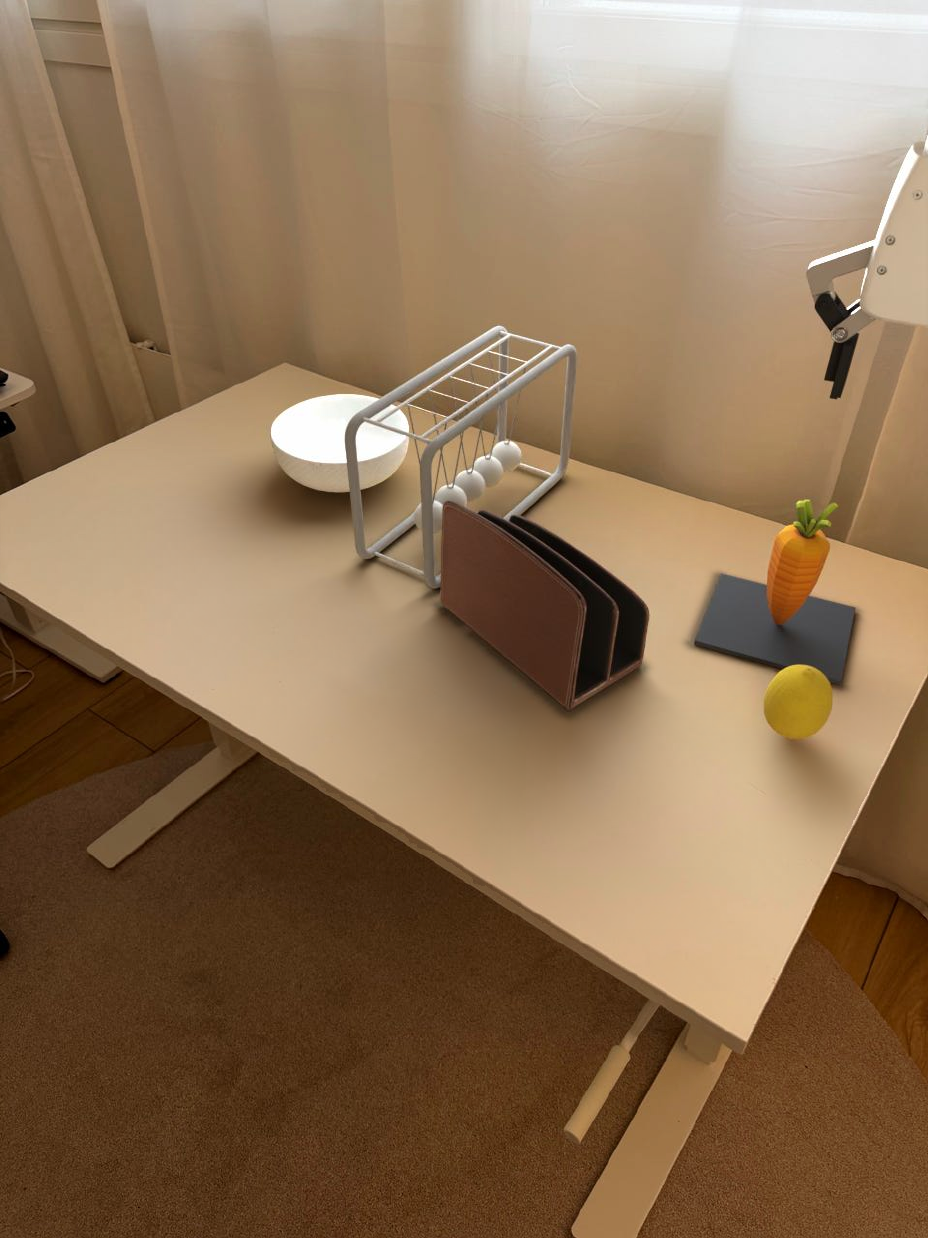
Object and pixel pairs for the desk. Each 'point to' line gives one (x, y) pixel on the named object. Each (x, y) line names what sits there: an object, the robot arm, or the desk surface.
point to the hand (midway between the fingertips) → (909, 404)
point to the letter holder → (540, 602)
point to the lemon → (798, 701)
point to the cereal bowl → (337, 442)
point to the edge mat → (776, 629)
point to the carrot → (797, 562)
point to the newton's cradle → (484, 468)
